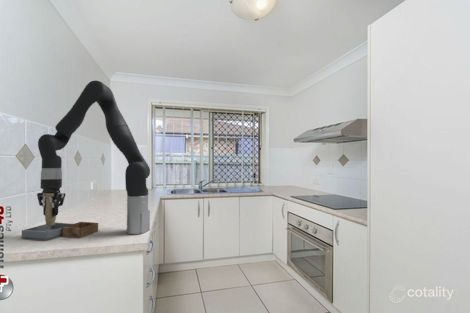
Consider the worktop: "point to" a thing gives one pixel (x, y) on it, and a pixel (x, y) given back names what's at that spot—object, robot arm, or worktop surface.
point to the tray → (44, 232)
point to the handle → (49, 210)
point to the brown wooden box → (79, 229)
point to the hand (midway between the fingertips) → (50, 215)
